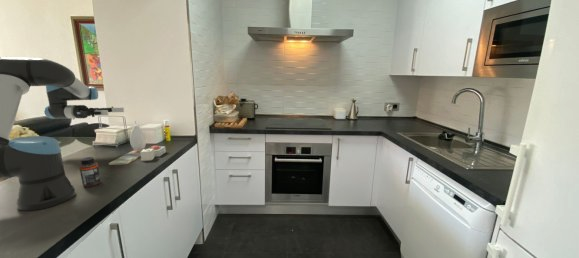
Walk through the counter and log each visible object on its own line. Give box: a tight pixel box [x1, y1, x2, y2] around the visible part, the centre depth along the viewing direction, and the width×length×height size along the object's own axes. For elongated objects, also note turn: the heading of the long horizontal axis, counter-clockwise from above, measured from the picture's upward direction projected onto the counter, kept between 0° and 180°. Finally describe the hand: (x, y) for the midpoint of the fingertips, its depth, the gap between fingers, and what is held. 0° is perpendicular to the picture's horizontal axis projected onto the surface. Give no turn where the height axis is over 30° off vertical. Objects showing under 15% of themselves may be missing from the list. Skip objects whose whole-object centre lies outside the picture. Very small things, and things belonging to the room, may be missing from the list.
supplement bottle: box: [78, 156, 102, 188], centre depth 101 cm, size 6×6×11 cm
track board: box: [108, 149, 142, 166], centre depth 136 cm, size 24×9×1 cm, turn 2°
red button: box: [149, 145, 160, 150], centre depth 140 cm, size 5×5×3 cm
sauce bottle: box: [129, 120, 147, 151], centre depth 141 cm, size 8×8×18 cm
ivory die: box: [140, 148, 155, 162], centre depth 132 cm, size 5×5×5 cm
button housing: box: [147, 145, 167, 158], centre depth 140 cm, size 8×8×4 cm
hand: (116, 111), depth 139 cm, fingers open, 13 cm apart
